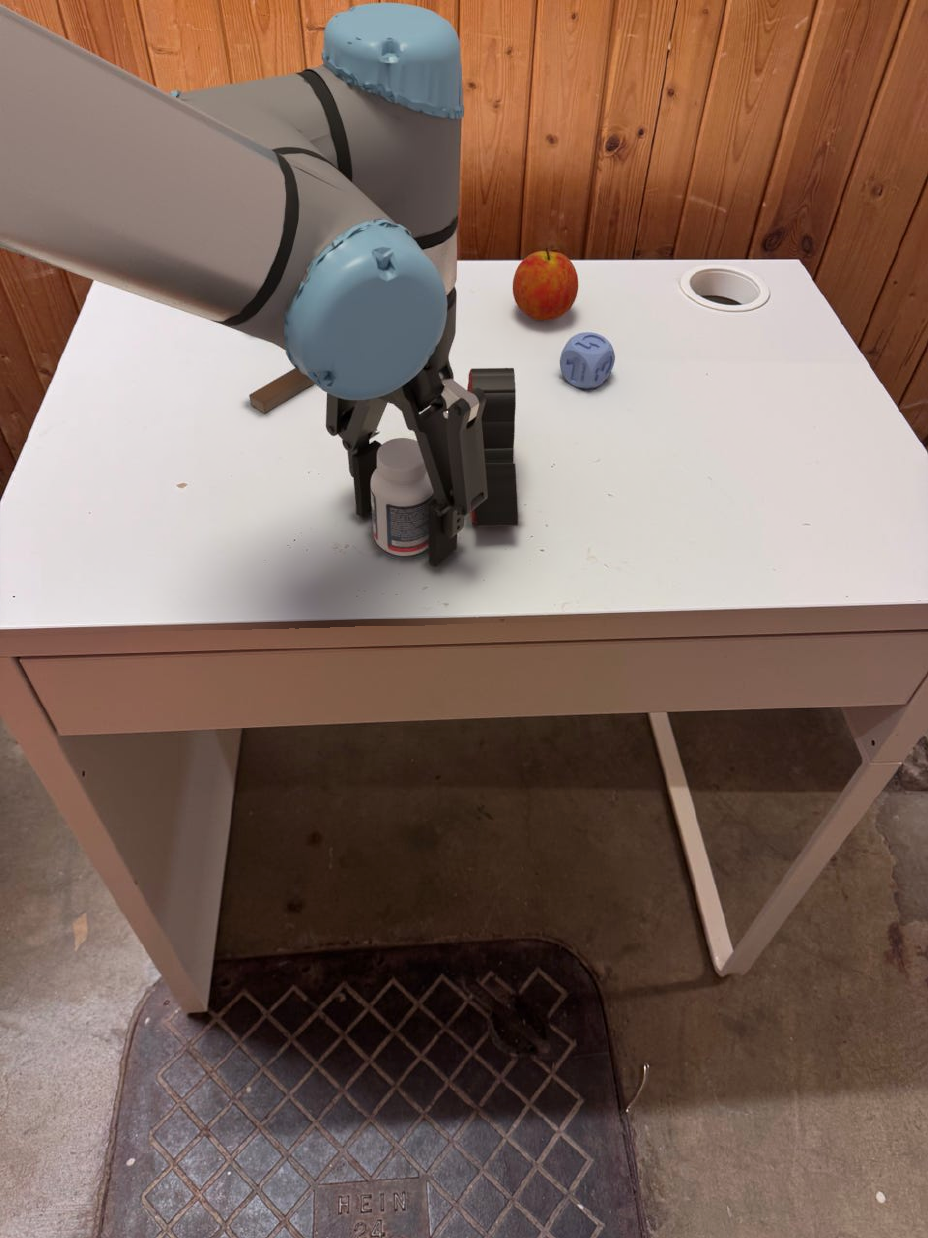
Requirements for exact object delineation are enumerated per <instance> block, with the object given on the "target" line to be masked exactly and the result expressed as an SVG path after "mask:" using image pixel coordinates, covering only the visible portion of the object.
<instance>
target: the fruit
mask: <svg viewBox="0 0 928 1238" xmlns="http://www.w3.org/2000/svg"><path fill="white" fill-rule="evenodd" d="M578 292H579V277H578V271H577V269H576V268H575V265H574V264H573V262H572V261H571V260H570V259H569V257H568V256H566V255H565V254H564V253H561V252H558V251H552V250H549V246H548V245H547V246H545V248H544V250H538V251H534V252H532V253H531V254H529V255H527V256H526V257H525V258H524V259H522V261H521V262H520V263H519V264H518V265H517V268H516V270H515V272H514V276H513V280H512V295H513V299H514V302H515V304H516V306H517V307H518V309H519V310H520V311H522V313H524V315H526V316H528V317H529V318H531V319H532V320H535V321H537V322H546V321H551V320H556V319H558V318H561V317H562V316H564V315H566V314H567V313H568V312H569V311H570V309H571V308H572V307H573V306H574V304H575V301H576V300H577V297H578Z"/></svg>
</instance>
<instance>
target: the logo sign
mask: <svg viewBox="0 0 928 1238" xmlns="http://www.w3.org/2000/svg"><path fill="white" fill-rule="evenodd" d="M515 375H516V374H515V368H514V367H489V368H488V367H486V368H485V367H483V368H482V367H481V368H480V367H478V368H477V367H476V368H470V370H469V372H468V383H467V388H466V390H467V391H468V392H470V391H471V390H473V389H474V388H480V389H481V390H482V391H483V392H484V393H485V395H486V402H485V406H484V410H483V413H482V417H481V420H482V432H483V444H484V456H485V468H486V480H487V493H488V498H487V499H486V500H485V501H484V502H482V503H481V504H480V505H479V506H477V507H476V508H475V509H474V510H472V511H471V512H470V515H471V522H472V524H475V527H505V526H506V527H510V526H514V527H515V526H519V510H518V488H517V471H516V463H514V461H515V459H514V457H515V456H514V455H515V448H514V447H515V433H516V432H515V431H516V430H515V429H516V423H515V422H516V407H517V406H516V404H517V403H516V402H517V401H516V399H517V397H516V396H517V395H516V393H517V392H516V390H517V389H516V376H515Z"/></svg>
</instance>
